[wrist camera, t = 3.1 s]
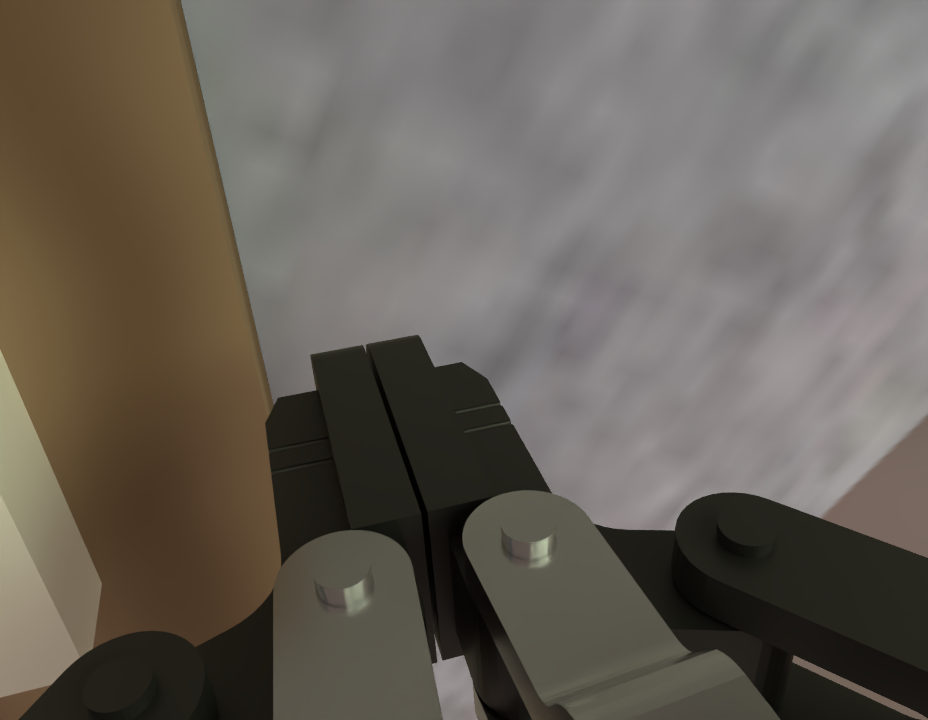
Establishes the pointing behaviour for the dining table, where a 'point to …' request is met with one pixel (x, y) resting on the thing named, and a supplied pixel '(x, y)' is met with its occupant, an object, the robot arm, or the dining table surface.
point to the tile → (38, 560)
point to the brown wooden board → (132, 316)
